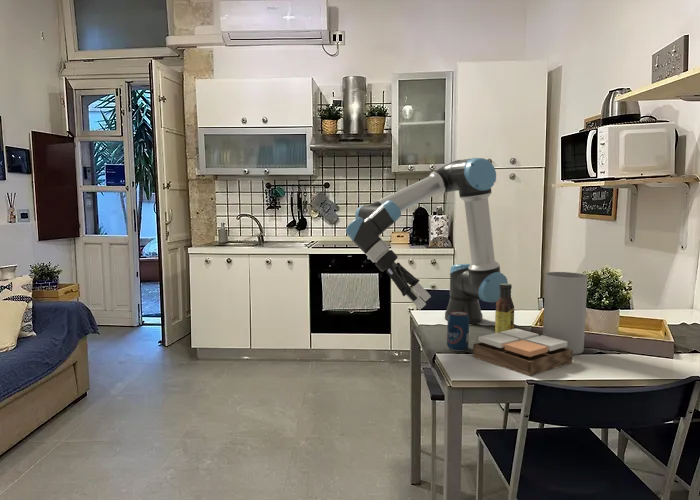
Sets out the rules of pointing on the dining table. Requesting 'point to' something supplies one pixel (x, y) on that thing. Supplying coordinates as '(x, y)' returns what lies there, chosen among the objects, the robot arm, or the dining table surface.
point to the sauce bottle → (504, 310)
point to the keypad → (522, 359)
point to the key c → (548, 342)
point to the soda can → (458, 331)
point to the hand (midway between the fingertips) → (425, 302)
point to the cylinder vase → (565, 308)
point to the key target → (526, 348)
